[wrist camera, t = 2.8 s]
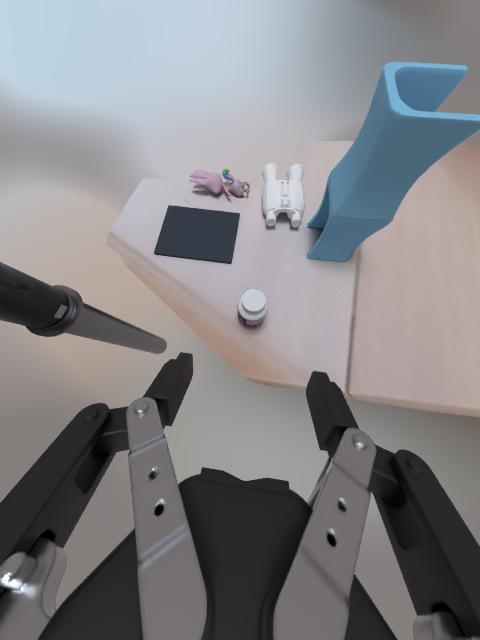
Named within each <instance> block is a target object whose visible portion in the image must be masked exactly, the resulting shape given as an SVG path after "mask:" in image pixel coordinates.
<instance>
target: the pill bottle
mask: <svg viewBox="0 0 480 640" xmlns="http://www.w3.org/2000/svg"><path fill="white" fill-rule="evenodd" d="M237 308H238V319H239V322H240V324H241V325H242V326H244V327H245V328H249V329H253V328H256V327H258V326H259V325H260V324H261V323H262V322H263V320H264V317H265V315H266V313H267V310H268V303H267V300H266V297H265V294H264V293H263V292H262V291H261V290H259V289H255V288H252V289H249V290H247V291H245V292H244V294H243V295H242V296H241V297H240V299H239V301H238V306H237Z"/></svg>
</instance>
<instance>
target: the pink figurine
mask: <svg viewBox="0 0 480 640" xmlns="http://www.w3.org/2000/svg"><path fill="white" fill-rule="evenodd" d="M227 172H229V170H227V169H225V170H223V177H224V178H225V179H226V180H227V181H226V182H225V183H224V182H223V181H222V178H221V176H220V175H218V174H216V173H209V174H208V173H207V172H204V171H196V172H194V173H193V174H191V175H190V177H195V178H194V179H190V180H189V181H190V182H195V183H198V184H200V185H202V186H205V187H208V188H209V190H210V191H212V192H214V193H216V194H218V193H220V191H221V190H222V188H224V189H225V191H226V193H227V194H228V195H229V196H231V194H230V193H229V192H228V191H232V192H233V193H234V194H235V195H237V196H242V194H243V193H244V192H246V193H247V196H248V194H249V192H247V191H246V190H245V189H243V188H244V186H245V185H247V186H248V189H249V186H250V185H248V184H247V183H246V182H241V181H240V180H235V179H234V178H233V176H231V175H230V174H228V173H227ZM230 180H231V181H232V182H231V183H229V181H230Z"/></svg>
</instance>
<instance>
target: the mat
mask: <svg viewBox="0 0 480 640" xmlns="http://www.w3.org/2000/svg"><path fill="white" fill-rule="evenodd" d="M239 216H240V213H232V212H223V211H214V210H205V209H197V208H188V207H179V206H170V205H169V206H168V209H167V212H166V216H165V219H164V222H163V225H162V229H161V232H160V235H159V238H158V241H157V245H156V248H155V251H154V254H156V255H164V256H172V257H180V258H188V259H196V260H204V261H212V262H220V263H228V264H231V262H232V256H233V250H234V245H235V239H236V233H237V228H238V222H239Z"/></svg>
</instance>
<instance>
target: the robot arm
mask: <svg viewBox="0 0 480 640" xmlns="http://www.w3.org/2000/svg"><path fill="white" fill-rule="evenodd" d="M72 309H73V301H72V298H71V296H70V295H69V294H68V293H66V292H65V291H62V290H60V289H57V288H55V287H53V286H51V285H49V284H46V283H44V282H42V281H40V280H37V279H36V278H33V277H31V276H29V275H27V274H25V273H23V272H20V271H18V270H16V269H14V268H12V267H10V266H8V265H5V264H3V263H1V262H0V320H2V321H7V322H11V323H16V324H20V325H24V326H29V327H33V328H36V329H40V330H50V329H54V328H56V327H58V326H60V325H61V324H63V323H64V322H65V321H66V320H67V319H68V318H69V316H70V314H71V312H72ZM192 376H193V357H192V354H189V353H182V352H181V353H180V354H179V355H178V357H177V359H176V360H175V359H171V360H169V361H168V362H167V363H165V364H164V366H163V367H162V369H161V371H160V372H159V373H158V375H157V377H156V378H155V379H154V381H153V382H152V384H151V385H150V387H149V388H148V390H147V391H146V393H145V395H144V396H143V397H142V398H140V399H137V400H135V401H134V402H133V403H131V404H130V406H127V407H123V408H116V409H109V408H108V406H107V405H106V404H103V403H96V404H92V405H90V406H88V407H86V408H84V409H82V410H81V411H80V412H79V413H78V414H77V415H76V416H75V417H74V419H73V420H72V421H71V422H70V423H69V424H68V425H67V427H66V428H65V429H64V430H63V431H62V432H61V433H60V435H59V436H58V437H57V438H56V439H55V440H54V442H53V443H52V444H51V445H50V446H49V447H48V449H47V450H46V451H45V452H44V453H43V454H42V456H41V457H40V458H39V459H38V460H37V461H36V463H35V464H34V465H33V466H32V467H31V468H30V469H29V471H28V472H27V473H26V474H25V475H24V476H23V478H22V479H21V480H20V481H19V482H18V483H17V485H16V486H15V487H14V488H13V489H12V490H11V491H10V493H9V494H8V495H7V496H6V497H5V498H4V500H3V501H2V502H1V503H0V640H397V638H396V637H395V635H394V633H393V632H392V630H391V629H390V628H389V626H388V624H387V623H386V621H385V620H384V618H383V617H382V615H381V614H380V612H379V611H378V609H377V607H376V606H375V605H374V603H373V601H372V600H371V598H370V597H369V595H368V594H367V592H366V591H365V589H364V588H363V586H362V585H361V583H360V581H359V580H358V578H357V577H356V575H355V574H354V571H355V567H356V562H357V558H358V553H359V548H360V544H361V539H362V534H363V530H364V526H365V521H366V516H367V512H368V507H369V503H370V497H371V494H370V492H371V493H373V495H374V498H375V500H376V503H377V506H378V509H379V512H380V514H381V517H382V520H383V523H384V525H385V528H386V531H387V534H388V536H389V539H390V542H391V544H392V547H393V550H394V553H395V556H396V558H397V561H398V564H399V567H400V569H401V572H402V575H403V578H404V580H405V583H406V586H407V589H408V591H409V594H410V597H411V600H412V603H413V605H414V608H415V611H416V614H417V617H416V619H415V621H414V625H413V632H414V633H413V634H414V640H480V546H479V545H478V543H477V542H476V540H475V539H474V537H473V535H472V534H471V532H470V530H469V529H468V527H467V526H466V524H465V523H464V521H463V519H462V518H461V516H460V515H459V513H458V511H457V510H456V508H455V507H454V505H453V503H452V502H451V501H450V499H449V497H448V496H447V494H446V492H445V491H444V489H443V488H442V486H441V485H440V483H439V481H438V480H437V478H436V477H435V475H434V473H433V472H432V470H431V469H430V467H429V466H428V465H427V464H426V463H425V462H424V461H423V460H422V459H421V458H420V457H419V456H417V455H416V454H414V453H412V452H410V451H407V450H399V451H398V452H396V453H395V454H394V453H392V452H390V451H388V450H385V449H383V448H381V447H379V446H377V445H375V444H374V443H373V441H372V440H371V438H370V437H369V436H368V435H367V434H366V433H364V432H363V431H361V430H360V429H359V428H358V425H357V423H356V421H355V419H354V417H353V415H352V412H351V410H350V408H349V406H348V405H347V402H346V400H345V398H344V395H343V393H342V391H341V389H340V388H339V387H338V386H337V385H336V384H335V382H330V380H329V377H328V375H327V373H324V372H317V371H313V372H312V375H311V377H310V380H309V383H308V385H307V388H306V397H307V401H308V405H309V409H310V412H311V416H312V420H313V424H314V428H315V432H316V436H317V440H318V444H319V448H320V450H324V451H328V455H329V458H328V459H327V461H326V463H325V466H324V468H323V470H322V472H321V475H320V477H319V479H318V481H317V484H316V486H315V488H314V490H313V492H312V494H311V496H310V497H309V499H308V502H306V501H305V500H304V499H303V498H302V497H300V496H299V495H298V494H297V493H295V492H294V491H292V490H290V489H289V482H288V481H284V480H278V479H271V478H263V479H257V480H251V481H243V480H240V479H239V478H236V477H234V476H233V475H231V474H229V473H226V472H225V471H221V470H215V469H210V468H203V467H202V470H201V474H198V475H194V476H191V477H189V478H187V479H185V480H184V481H182V482H181V483H179V484H178V483H177V479H176V475H175V472H174V467H173V464H172V460H171V456H170V452H169V449H168V444H167V441H166V437H165V435H164V431H163V429H164V428H165V425H166V426H172V424H173V421H174V419H175V417H176V414H177V412H178V409H179V407H180V405H181V403H182V400H183V398H184V395H185V393H186V391H187V389H188V386H189V384H190V382H191V379H192ZM129 449H130V452H129V454H128V459H129V471H130V481H131V492H132V503H133V513H134V523H135V528H134V529H133V530H132V532H131V533H130V534H129V535H128V536H127V537H126V538H125V539H124V540H123V541H122V542H121V543H120V544H119V545H118V546H117V547H116V548H115V549H114V550H113V551H112V552H111V553H110V554H109V555H108V556H107V557H106V558H105V559H104V560H103V561H102V562H101V563H100V564H99V565H98V566H97V568H95V569H94V571H93V572H92V573H91V574H90V575H89V576H88V577H87V578H86V579H85V580H84V581H83V582H82V583H81V584H80V585H79V586H78V587H77V588H76V589H75V590H74V591H73V592H72V593H71V594H70V595H69V596H68V597H67V598H66V600H65V601H64V602H63V603H62V605H61V606H60V607H59V608H58V609H57V611H56V608H55V601H56V594H57V590H58V587H59V584H60V582H61V579H62V577H63V575H64V572H65V569H66V564H67V556H66V553H65V551H64V550H63V547H64V545H65V544H66V542H67V540H68V538H69V537H70V535H71V533H72V531H73V529H74V527H75V526H76V524H77V522H78V520H79V519H80V517H81V515H82V513H83V512H84V510H85V508H86V506H87V504H88V503H89V500H90V499H91V497H92V495H93V494H94V492H95V490H96V488H97V486H98V484H99V483H100V481H101V479H102V477H103V476H104V474H105V472H106V470H107V468H108V467H109V465H110V463H111V461H112V459H113V457H114V456H115V454H116V452H119V451H124V450H129Z"/></svg>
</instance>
